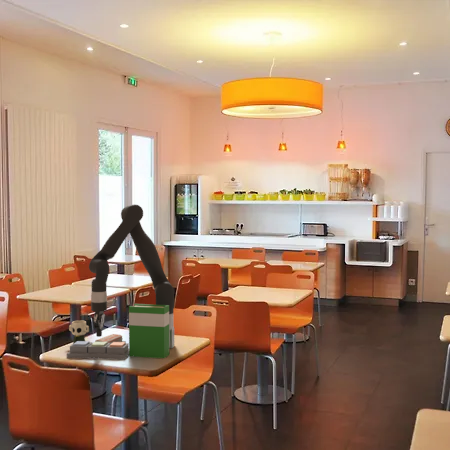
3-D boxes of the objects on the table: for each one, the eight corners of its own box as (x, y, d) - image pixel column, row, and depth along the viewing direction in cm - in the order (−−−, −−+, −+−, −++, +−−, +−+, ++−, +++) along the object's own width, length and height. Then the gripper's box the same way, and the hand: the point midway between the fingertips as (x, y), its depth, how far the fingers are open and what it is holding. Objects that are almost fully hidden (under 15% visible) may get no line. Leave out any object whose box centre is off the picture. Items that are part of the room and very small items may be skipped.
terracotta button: (125, 346, 285) (125, 342, 285) (122, 349, 279) (122, 345, 279) (113, 346, 285) (113, 341, 285) (109, 349, 279) (109, 344, 279)
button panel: (131, 352, 288) (131, 342, 287) (124, 359, 276) (124, 348, 275) (75, 351, 290) (75, 341, 290) (66, 357, 278) (66, 347, 278)
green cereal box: (129, 356, 281) (128, 306, 280) (135, 352, 288) (134, 303, 287) (164, 358, 277) (164, 307, 276) (169, 354, 284) (169, 305, 283)
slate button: (89, 345, 286) (89, 341, 286) (85, 348, 280) (85, 344, 280) (77, 345, 287) (77, 341, 287) (73, 348, 281) (73, 344, 281)
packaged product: (110, 332, 312) (126, 334, 308) (110, 341, 312) (126, 343, 308) (89, 340, 295) (106, 342, 291) (89, 349, 295) (106, 351, 291)
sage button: (107, 345, 285) (107, 341, 285) (103, 348, 280) (103, 344, 279) (95, 345, 286) (95, 341, 286) (91, 348, 280) (91, 344, 280)
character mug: (65, 348, 296) (65, 322, 296) (73, 344, 303) (72, 319, 303) (85, 349, 293) (85, 323, 293) (92, 346, 300) (92, 321, 300)
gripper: (102, 303, 275) (102, 339, 276) (110, 298, 288) (110, 333, 289) (86, 302, 276) (87, 339, 276) (95, 298, 289) (95, 333, 290)
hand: (99, 336), depth 283 cm, fingers closed
